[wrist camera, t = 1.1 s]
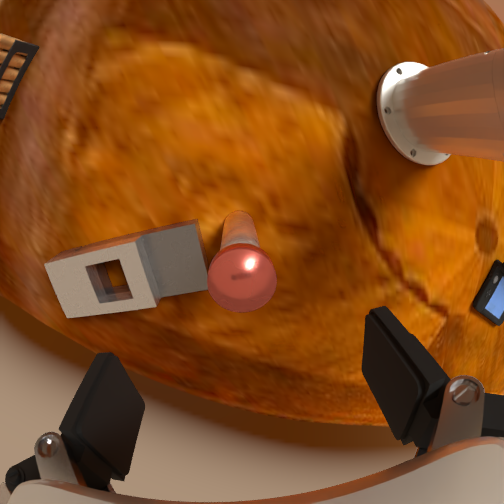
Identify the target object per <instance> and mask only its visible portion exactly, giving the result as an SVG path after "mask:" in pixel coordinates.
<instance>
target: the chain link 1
mask: <svg viewBox="0 0 504 504" xmlns="http://www.w3.org/2000/svg"><path fill="white" fill-rule="evenodd" d="M81 248H82V246H81V247H77V248H74V249H70V250H66V251H63V252H61V253H59V254H58V255H56V256H55V257H53V258H52V259H51V260H49V261H48V262H46V263H45V264H44V265H45V268H46V270H47V273H48V276H49V278H50V281H51V283H52V286H53V288H54V290H55V293H56V295H57V297H58V300H59V302H60V304H61V306H62V308H63V311H64V313H65V315H66V317H67V318H74V317H83V316H91V315H100V314H108V313H115V312H123V311H131V310H138V309H145V308H152V307H157V305H158V303H159V301H160V299H161V295H160V293H159V290H158V287H157V284H156V281H155V278H154V275H153V272H152V269H151V266H150V262H149V259H148V256H147V253H146V249H145V246H144V243H143V239H142V236H137V237H132V238H128V239H124V240H120V241H116V242H112V243H108V244H104V245H100V246H96V247H92V248H88V249H84V250H80V251H78V250H79V249H81ZM116 259H120V262H121V265H122V268H123V271H124V274H125V277H126V280H127V282H128V285H129V288H130V291H128V292H122V293H116V294H110V295H106V293H105V290H104V288H103V285H102V283H101V280H100V277H99V275H98V272H97V269H96V267H95V264H97V263H102V262H107V261H111V260H116Z"/></svg>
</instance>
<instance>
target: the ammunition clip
mask: <svg viewBox="0 0 504 504" xmlns="http://www.w3.org/2000/svg"><path fill="white" fill-rule="evenodd" d="M0 48H2V49H3V50H1V49H0V119H2V120H3V119H4V117H5V114H6V112H7V109H8V107H9V105H10V102H11V100H12V98H13V96H14V94H15V91H16V89H17V87H18V85H19V83H20V81H21V79H22V77H23V75H24V73H25V71H26V70H27V68H28V66H29V64H30V62H31V61H32V59H33V57H34V55H35V54H36V52H37V50H38V49H39V46H36V45H34V44H31V43H27V42H24V41H21V40H19V39H16V38H13V37H10V36H7V35H4V34H0ZM15 53H18V54H21V55H18V54H15ZM1 64H2V65H1ZM8 66H12V67H8ZM13 67H14V68H13ZM4 79H7V80H4Z"/></svg>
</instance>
